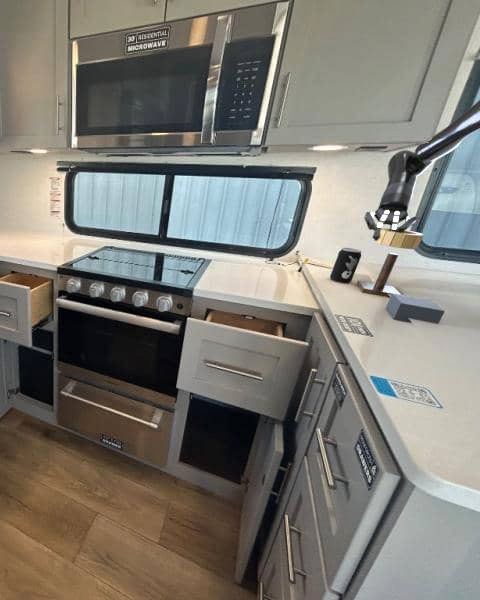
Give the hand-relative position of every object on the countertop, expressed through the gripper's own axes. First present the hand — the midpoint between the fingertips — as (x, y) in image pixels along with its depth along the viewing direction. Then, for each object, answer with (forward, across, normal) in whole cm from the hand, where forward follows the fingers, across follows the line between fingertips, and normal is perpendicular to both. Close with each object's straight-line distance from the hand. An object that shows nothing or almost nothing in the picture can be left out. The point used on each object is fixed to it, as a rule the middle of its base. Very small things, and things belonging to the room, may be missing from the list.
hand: (381, 239), depth 108 cm
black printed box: (+8, -6, +17) cm, 20 cm away
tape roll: (0, +4, +2) cm, 4 cm away
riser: (+27, +11, -2) cm, 29 cm away
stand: (+11, +4, +14) cm, 18 cm away
